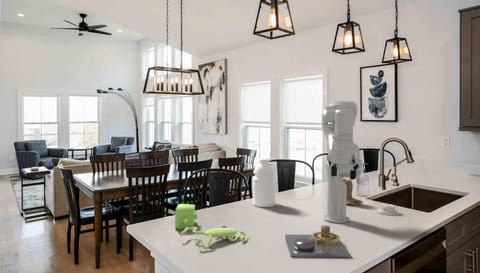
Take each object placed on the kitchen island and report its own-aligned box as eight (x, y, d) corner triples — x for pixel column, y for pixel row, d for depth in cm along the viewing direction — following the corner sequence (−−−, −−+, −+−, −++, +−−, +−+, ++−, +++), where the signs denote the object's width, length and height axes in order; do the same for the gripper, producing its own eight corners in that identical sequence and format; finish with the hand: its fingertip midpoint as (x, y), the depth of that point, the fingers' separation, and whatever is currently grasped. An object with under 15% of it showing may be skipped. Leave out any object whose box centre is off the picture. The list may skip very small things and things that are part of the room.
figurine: (177, 240, 142) (177, 227, 142) (231, 229, 156) (231, 217, 156) (193, 255, 126) (193, 240, 126) (252, 242, 140) (252, 229, 140)
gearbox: (195, 233, 152) (196, 213, 151) (173, 232, 151) (174, 212, 150) (198, 220, 169) (198, 202, 169) (178, 220, 169) (179, 201, 168)
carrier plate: (285, 237, 143) (285, 229, 143) (336, 238, 143) (336, 230, 143) (290, 256, 124) (290, 247, 123) (349, 257, 123) (350, 248, 123)
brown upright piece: (331, 201, 208) (331, 178, 207) (346, 199, 212) (346, 176, 211) (347, 207, 194) (347, 182, 193) (363, 205, 198) (363, 180, 197)
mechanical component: (401, 215, 177) (392, 210, 187) (401, 207, 177) (392, 203, 187) (383, 215, 177) (374, 210, 187) (383, 207, 177) (374, 203, 187)
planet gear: (314, 236, 141) (314, 223, 140) (332, 236, 140) (332, 224, 140) (318, 243, 133) (318, 229, 133) (336, 243, 133) (336, 229, 133)
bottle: (263, 200, 210) (263, 157, 209) (280, 204, 200) (280, 158, 199) (248, 204, 201) (247, 158, 200) (264, 208, 191) (264, 160, 189)
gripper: (322, 137, 146) (321, 176, 147) (356, 139, 132) (355, 181, 133) (332, 137, 151) (332, 174, 152) (366, 138, 137) (366, 179, 138)
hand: (343, 177), depth 142 cm, fingers open, 9 cm apart
